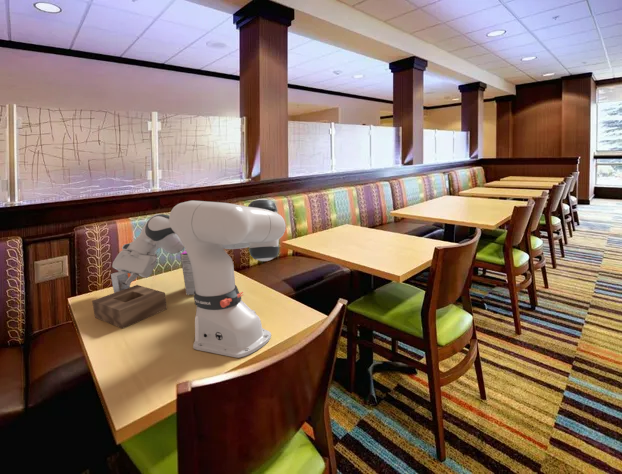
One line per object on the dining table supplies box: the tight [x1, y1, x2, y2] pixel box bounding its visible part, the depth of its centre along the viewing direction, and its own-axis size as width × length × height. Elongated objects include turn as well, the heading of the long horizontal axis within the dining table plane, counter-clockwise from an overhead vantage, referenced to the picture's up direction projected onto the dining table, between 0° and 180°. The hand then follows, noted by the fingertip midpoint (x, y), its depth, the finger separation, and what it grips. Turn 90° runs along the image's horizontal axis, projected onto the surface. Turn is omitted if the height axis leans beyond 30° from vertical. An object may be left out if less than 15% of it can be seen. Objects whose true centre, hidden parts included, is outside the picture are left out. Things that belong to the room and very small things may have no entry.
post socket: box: [91, 284, 168, 329], centre depth 123 cm, size 16×16×6 cm
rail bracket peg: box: [110, 271, 131, 293], centre depth 135 cm, size 4×4×10 cm
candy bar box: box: [179, 250, 195, 296], centre depth 140 cm, size 11×5×16 cm, turn 179°
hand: (121, 283), depth 135 cm, fingers closed on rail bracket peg, 4 cm apart
